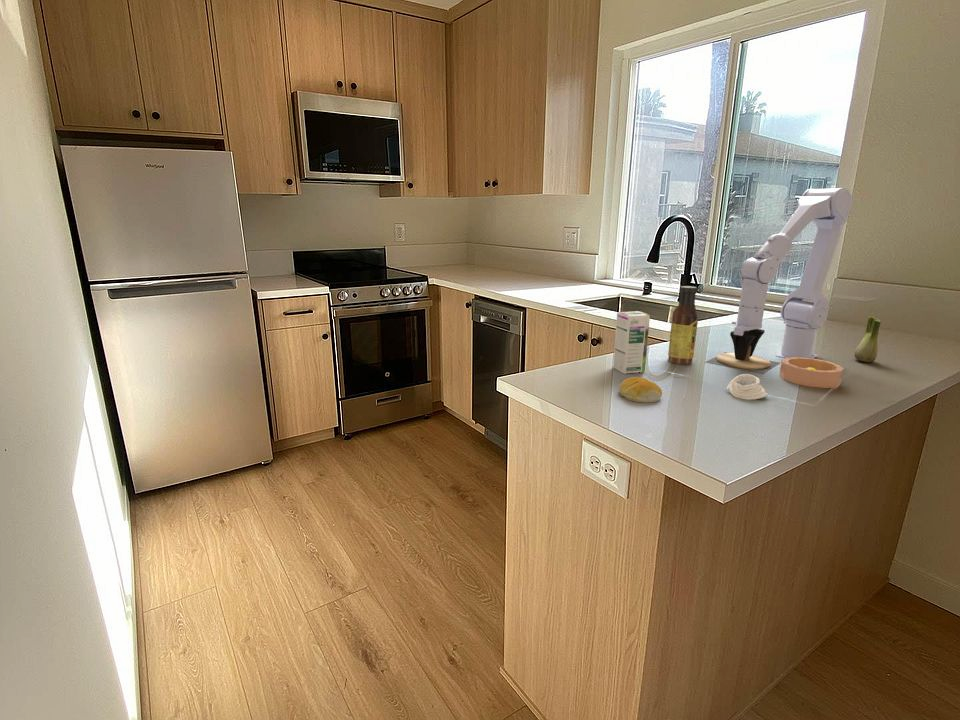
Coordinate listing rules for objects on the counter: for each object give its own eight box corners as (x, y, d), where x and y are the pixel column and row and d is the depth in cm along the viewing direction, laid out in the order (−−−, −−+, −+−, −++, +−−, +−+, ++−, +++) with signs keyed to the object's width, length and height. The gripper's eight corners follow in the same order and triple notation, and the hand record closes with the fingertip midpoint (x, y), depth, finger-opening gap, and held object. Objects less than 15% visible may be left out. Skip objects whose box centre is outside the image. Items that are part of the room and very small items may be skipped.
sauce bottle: (694, 366, 134) (705, 289, 128) (669, 365, 135) (678, 288, 129) (690, 359, 140) (699, 285, 134) (665, 358, 141) (674, 284, 135)
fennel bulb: (873, 365, 137) (883, 320, 134) (850, 361, 140) (860, 317, 137) (876, 360, 141) (887, 317, 138) (855, 357, 144) (864, 314, 141)
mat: (725, 353, 146) (725, 352, 146) (780, 364, 137) (780, 362, 137) (704, 363, 137) (705, 361, 136) (762, 375, 127) (762, 373, 127)
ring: (788, 369, 132) (791, 354, 131) (844, 380, 124) (847, 364, 123) (773, 380, 124) (776, 364, 123) (832, 392, 116) (836, 375, 115)
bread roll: (644, 388, 118) (646, 371, 117) (667, 402, 109) (669, 384, 108) (611, 390, 116) (612, 373, 115) (631, 405, 108) (633, 386, 106)
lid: (726, 353, 145) (729, 337, 144) (776, 362, 137) (779, 346, 136) (708, 362, 136) (711, 345, 135) (760, 372, 128) (763, 355, 127)
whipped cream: (769, 400, 114) (776, 379, 112) (758, 405, 109) (765, 383, 108) (732, 388, 119) (738, 368, 118) (720, 393, 114) (726, 372, 113)
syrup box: (624, 374, 127) (629, 315, 123) (612, 367, 132) (617, 310, 128) (645, 372, 128) (651, 314, 124) (632, 365, 134) (637, 310, 130)
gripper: (745, 301, 140) (737, 349, 144) (724, 307, 130) (717, 360, 134) (773, 304, 135) (765, 354, 139) (754, 311, 125) (746, 365, 129)
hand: (743, 357), depth 136 cm, fingers open, 5 cm apart
